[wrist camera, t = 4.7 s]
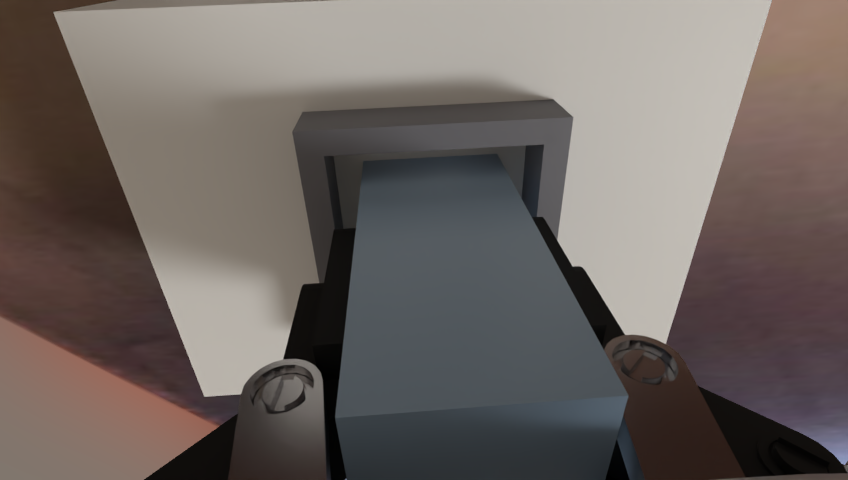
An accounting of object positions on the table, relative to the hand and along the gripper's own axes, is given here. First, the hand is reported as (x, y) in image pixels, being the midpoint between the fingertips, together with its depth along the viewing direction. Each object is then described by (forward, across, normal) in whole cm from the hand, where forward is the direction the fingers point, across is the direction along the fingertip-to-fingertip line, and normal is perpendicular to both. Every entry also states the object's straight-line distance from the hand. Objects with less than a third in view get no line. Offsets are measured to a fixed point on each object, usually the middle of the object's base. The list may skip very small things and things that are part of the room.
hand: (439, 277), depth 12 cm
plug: (+2, 0, 0) cm, 2 cm away
